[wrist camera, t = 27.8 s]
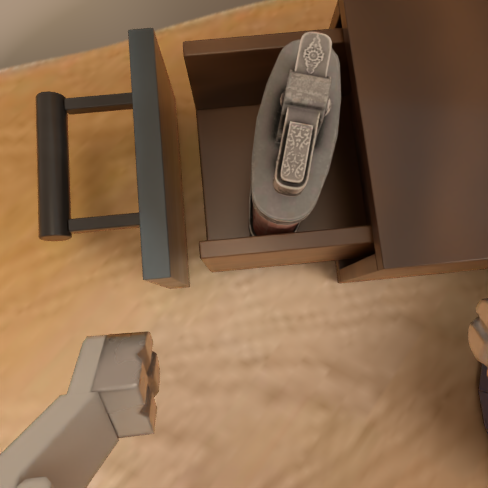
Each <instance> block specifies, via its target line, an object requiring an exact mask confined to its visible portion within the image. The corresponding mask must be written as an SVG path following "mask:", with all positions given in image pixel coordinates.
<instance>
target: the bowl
mask: <svg viewBox="0 0 488 488" xmlns="http://www.w3.org/2000/svg"><path fill="white" fill-rule="evenodd" d="M487 370H488V367H487V366H486V365H484V364H482V367H481V375H480V383H479V397H480V403H481V408H482V414H483V420H484V425H485V429H486V431H487V433H488V377H487Z"/></svg>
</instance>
